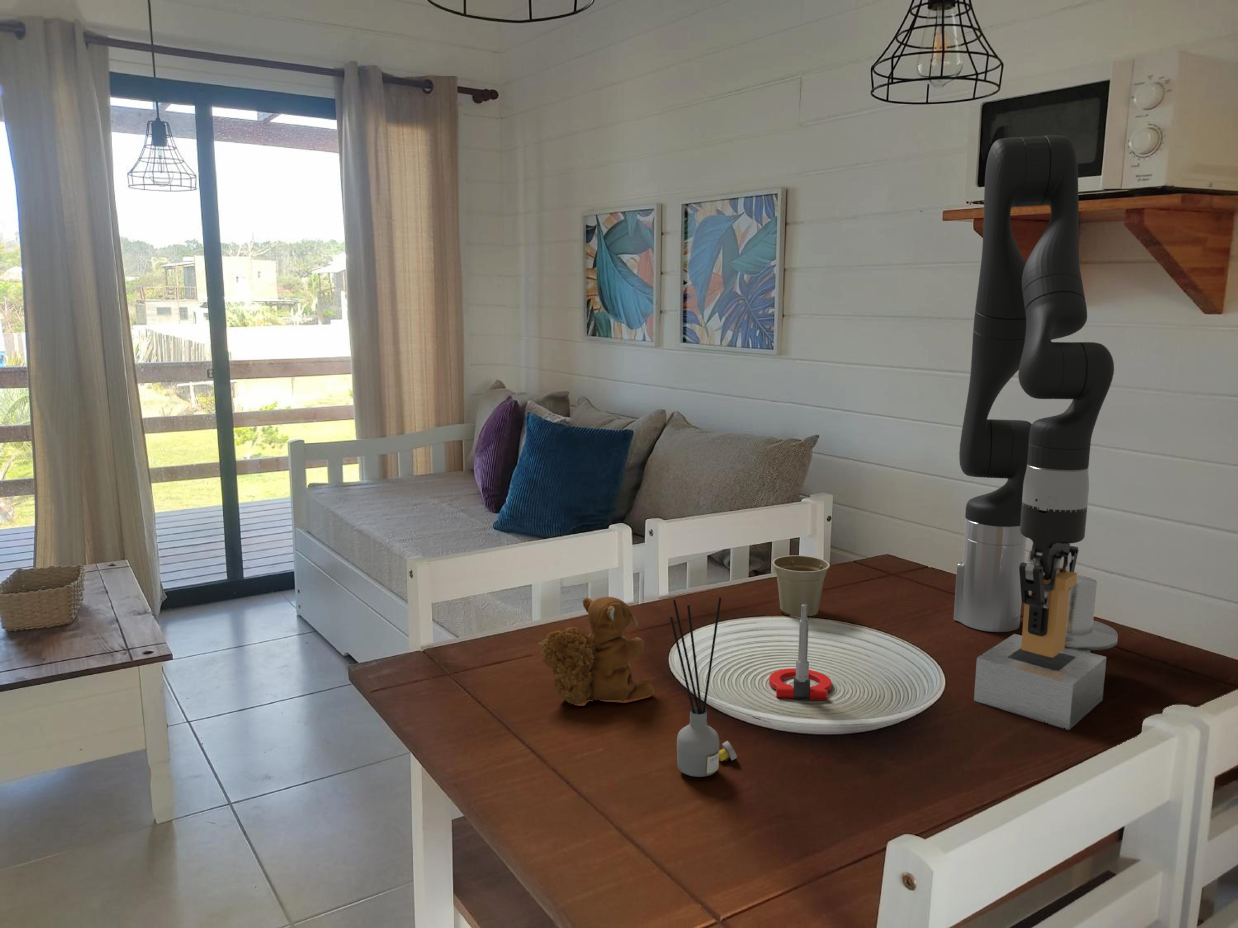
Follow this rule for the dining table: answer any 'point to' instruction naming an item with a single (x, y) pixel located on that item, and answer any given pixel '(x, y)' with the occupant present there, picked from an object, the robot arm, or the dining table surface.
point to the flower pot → (800, 582)
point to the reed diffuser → (698, 720)
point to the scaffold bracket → (1050, 668)
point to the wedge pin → (1051, 620)
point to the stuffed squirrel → (596, 656)
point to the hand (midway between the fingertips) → (1043, 629)
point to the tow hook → (801, 672)
